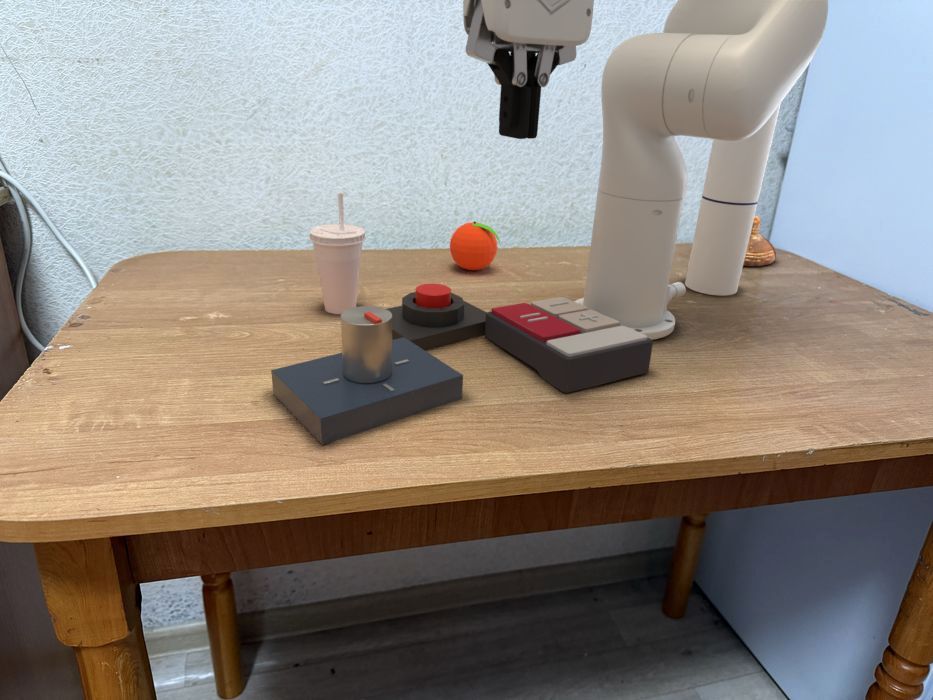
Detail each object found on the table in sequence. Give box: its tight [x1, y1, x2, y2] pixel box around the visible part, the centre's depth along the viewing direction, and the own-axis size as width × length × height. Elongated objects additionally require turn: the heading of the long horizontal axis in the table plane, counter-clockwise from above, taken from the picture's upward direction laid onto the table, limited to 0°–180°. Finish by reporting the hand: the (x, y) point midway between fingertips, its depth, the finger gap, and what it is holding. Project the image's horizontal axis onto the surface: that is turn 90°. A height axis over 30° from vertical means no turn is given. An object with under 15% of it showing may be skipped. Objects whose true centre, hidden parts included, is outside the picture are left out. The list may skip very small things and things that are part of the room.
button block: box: [385, 291, 488, 351], centre depth 73 cm, size 12×9×4 cm
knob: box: [340, 305, 392, 383], centre depth 57 cm, size 4×4×6 cm
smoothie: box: [308, 192, 366, 315], centre depth 75 cm, size 6×6×14 cm
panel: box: [270, 337, 464, 446], centre depth 58 cm, size 14×10×3 cm
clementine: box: [449, 221, 502, 272], centre depth 93 cm, size 8×7×7 cm
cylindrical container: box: [684, 102, 782, 297], centre depth 87 cm, size 7×7×25 cm
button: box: [414, 283, 452, 308], centre depth 72 cm, size 4×4×2 cm
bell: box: [743, 215, 777, 267], centre depth 106 cm, size 12×12×7 cm
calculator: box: [484, 296, 654, 394], centre depth 68 cm, size 11×4×15 cm
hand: (517, 136), depth 55 cm, fingers closed
